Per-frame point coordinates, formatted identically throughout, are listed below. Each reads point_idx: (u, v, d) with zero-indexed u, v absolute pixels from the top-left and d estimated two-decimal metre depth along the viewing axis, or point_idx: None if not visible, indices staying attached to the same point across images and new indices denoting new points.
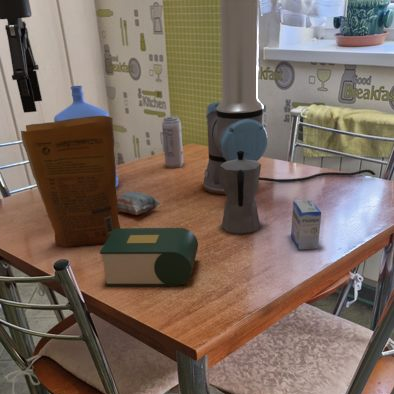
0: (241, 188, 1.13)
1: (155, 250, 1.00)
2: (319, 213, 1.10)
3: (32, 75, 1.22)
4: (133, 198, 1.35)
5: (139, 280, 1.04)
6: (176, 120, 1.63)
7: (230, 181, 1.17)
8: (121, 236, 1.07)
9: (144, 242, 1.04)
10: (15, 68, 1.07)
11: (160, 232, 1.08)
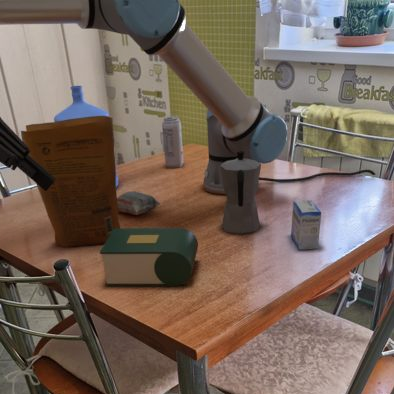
0: (241, 188, 1.13)
1: (155, 250, 1.00)
2: (319, 213, 1.10)
3: None
4: (133, 198, 1.35)
5: (139, 280, 1.04)
6: (176, 120, 1.63)
7: (230, 181, 1.17)
8: (121, 236, 1.07)
9: (144, 242, 1.04)
10: (4, 161, 0.95)
11: (160, 232, 1.08)
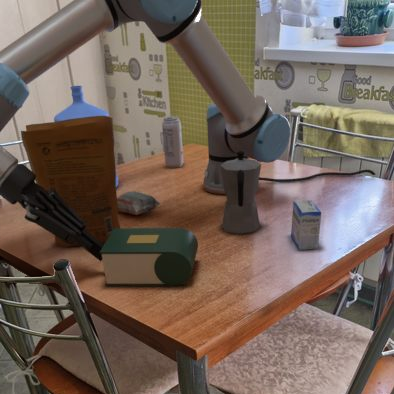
0: (241, 188, 1.13)
1: (155, 250, 1.00)
2: (319, 213, 1.10)
3: None
4: (133, 198, 1.35)
5: (139, 280, 1.04)
6: (176, 120, 1.63)
7: (230, 181, 1.17)
8: (121, 236, 1.07)
9: (144, 242, 1.04)
10: (64, 238, 1.02)
11: (160, 232, 1.08)
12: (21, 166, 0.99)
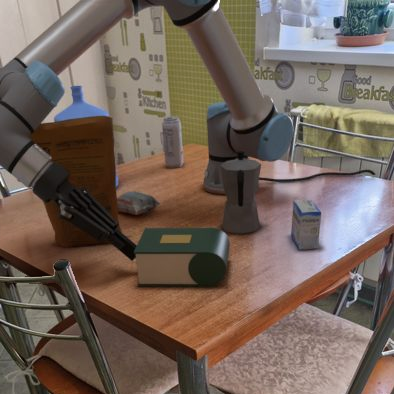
0: (241, 188, 1.13)
1: (190, 250, 0.99)
2: (319, 213, 1.10)
3: None
4: (133, 198, 1.35)
5: (172, 280, 1.03)
6: (176, 120, 1.63)
7: (230, 181, 1.17)
8: (153, 236, 1.06)
9: (178, 242, 1.03)
10: (97, 237, 1.02)
11: (193, 232, 1.07)
12: (56, 164, 0.98)
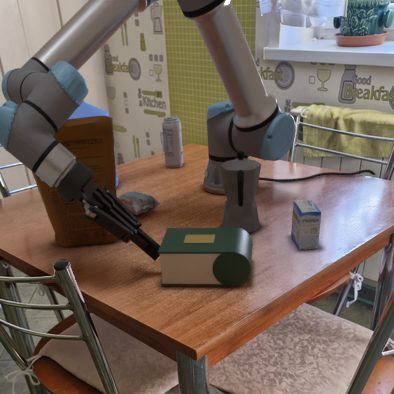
0: (241, 188, 1.13)
1: (214, 250, 0.99)
2: (319, 213, 1.10)
3: None
4: (133, 198, 1.35)
5: (196, 280, 1.03)
6: (176, 120, 1.63)
7: (230, 181, 1.17)
8: (176, 236, 1.05)
9: (201, 242, 1.02)
10: (121, 237, 1.01)
11: (216, 232, 1.06)
12: (80, 164, 0.97)
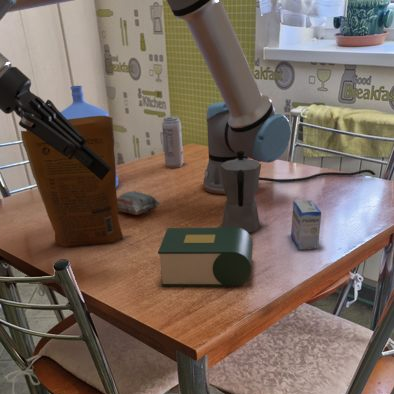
0: (241, 188, 1.13)
1: (214, 250, 0.99)
2: (319, 213, 1.10)
3: None
4: (133, 198, 1.35)
5: (196, 280, 1.03)
6: (176, 120, 1.63)
7: (230, 181, 1.17)
8: (177, 236, 1.06)
9: (202, 242, 1.02)
10: (62, 150, 0.94)
11: (216, 232, 1.06)
12: (15, 68, 0.90)
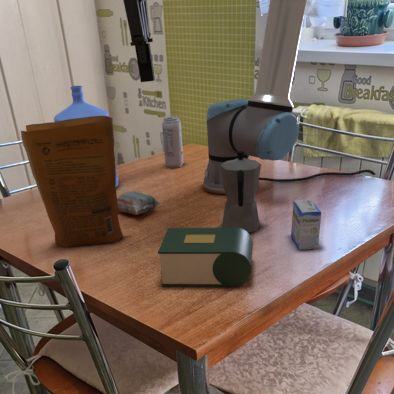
0: (241, 188, 1.13)
1: (214, 250, 0.99)
2: (319, 213, 1.10)
3: None
4: (133, 198, 1.35)
5: (196, 280, 1.03)
6: (176, 120, 1.63)
7: (230, 181, 1.17)
8: (177, 236, 1.06)
9: (202, 242, 1.02)
10: (133, 34, 0.97)
11: (216, 232, 1.06)
12: None
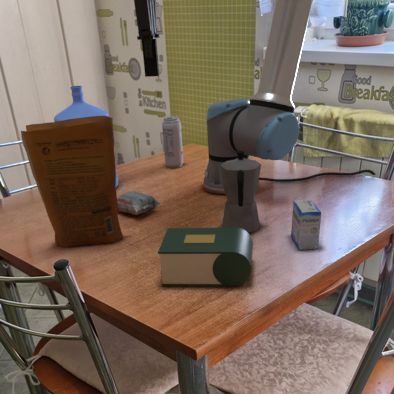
0: (241, 188, 1.13)
1: (214, 250, 0.99)
2: (319, 213, 1.10)
3: (151, 44, 1.03)
4: (133, 198, 1.35)
5: (196, 280, 1.03)
6: (176, 120, 1.63)
7: (230, 181, 1.17)
8: (177, 236, 1.06)
9: (202, 242, 1.02)
10: (140, 28, 0.98)
11: (216, 232, 1.06)
12: None
